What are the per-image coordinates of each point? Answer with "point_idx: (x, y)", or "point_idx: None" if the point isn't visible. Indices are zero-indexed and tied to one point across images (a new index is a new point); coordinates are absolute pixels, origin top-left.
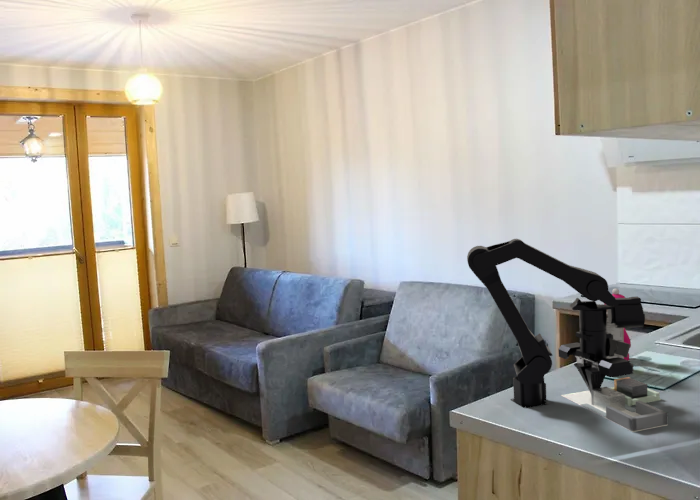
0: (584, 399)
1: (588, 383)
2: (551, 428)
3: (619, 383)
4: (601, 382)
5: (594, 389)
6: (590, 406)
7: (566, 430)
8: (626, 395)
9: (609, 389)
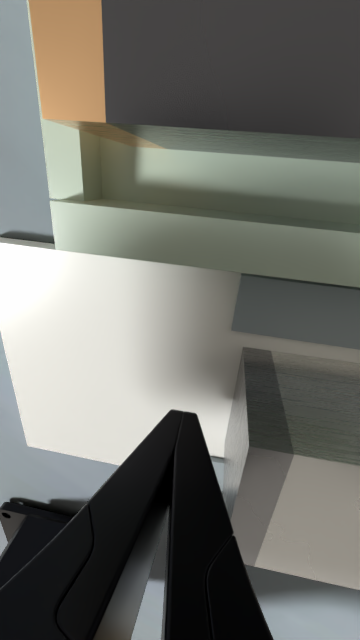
0: (134, 412)
1: (149, 570)
2: (301, 631)
3: (196, 135)
4: (232, 545)
5: (242, 552)
6: None
7: (353, 626)
8: (329, 157)
9: (343, 486)
